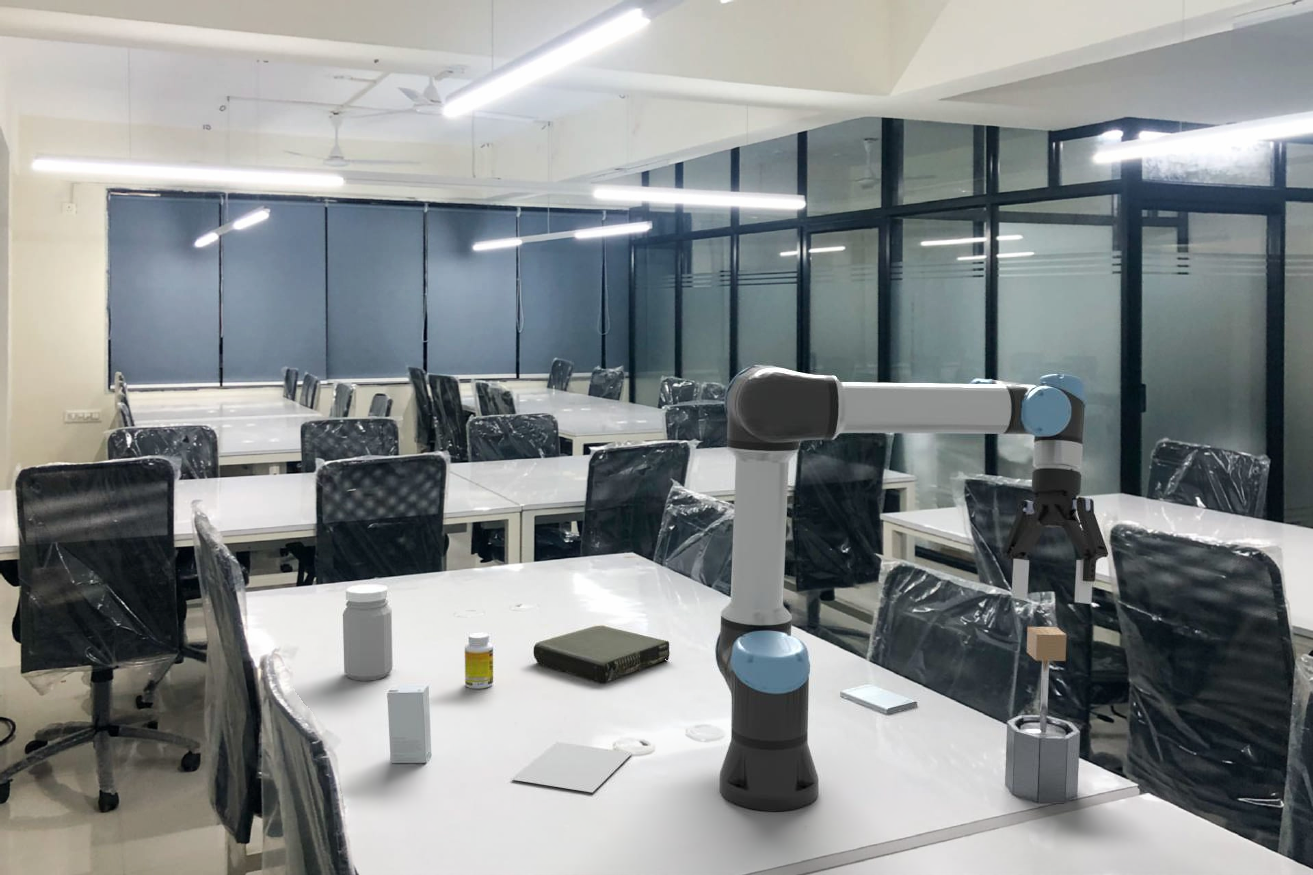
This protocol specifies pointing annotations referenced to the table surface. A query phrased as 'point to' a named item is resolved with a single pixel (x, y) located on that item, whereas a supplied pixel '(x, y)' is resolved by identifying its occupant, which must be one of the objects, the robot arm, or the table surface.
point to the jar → (367, 632)
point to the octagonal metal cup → (1042, 761)
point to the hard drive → (878, 698)
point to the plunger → (1045, 672)
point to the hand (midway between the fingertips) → (1049, 601)
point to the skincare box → (409, 723)
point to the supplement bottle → (478, 661)
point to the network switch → (600, 653)
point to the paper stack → (573, 767)
